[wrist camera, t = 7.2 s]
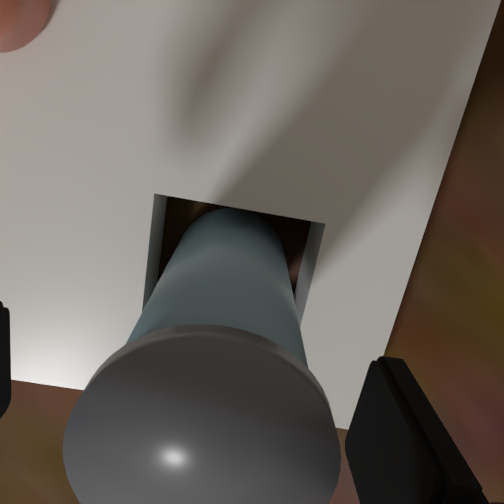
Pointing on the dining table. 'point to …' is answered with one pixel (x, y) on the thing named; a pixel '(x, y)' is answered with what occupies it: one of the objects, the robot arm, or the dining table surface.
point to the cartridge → (209, 386)
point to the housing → (225, 160)
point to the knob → (21, 22)
